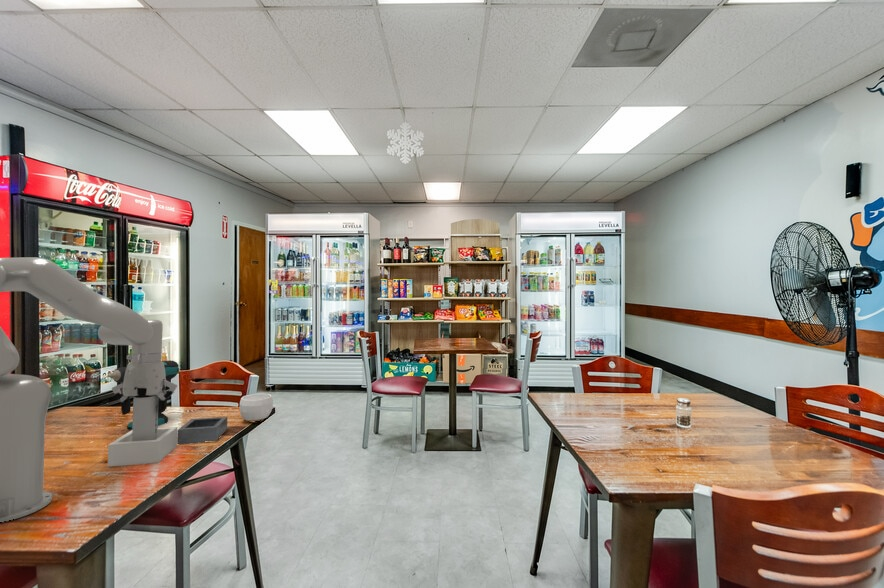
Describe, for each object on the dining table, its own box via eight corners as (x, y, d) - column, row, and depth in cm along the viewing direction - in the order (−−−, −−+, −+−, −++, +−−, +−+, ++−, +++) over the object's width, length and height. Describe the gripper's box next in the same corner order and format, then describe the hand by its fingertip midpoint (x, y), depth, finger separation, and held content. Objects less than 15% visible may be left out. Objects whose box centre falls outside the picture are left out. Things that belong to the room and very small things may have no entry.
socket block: (216, 441, 131) (216, 427, 131) (177, 444, 128) (177, 429, 128) (227, 429, 142) (227, 416, 142) (191, 432, 139) (191, 418, 139)
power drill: (116, 440, 130) (118, 369, 131) (96, 438, 132) (97, 367, 132) (182, 417, 156) (183, 357, 156) (164, 416, 158) (166, 356, 158)
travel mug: (126, 449, 117) (128, 385, 117) (150, 442, 123) (152, 381, 123) (136, 453, 114) (138, 388, 114) (161, 446, 120) (162, 384, 120)
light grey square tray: (158, 462, 114) (158, 441, 114) (107, 466, 111) (108, 444, 111) (177, 446, 126) (177, 426, 127) (131, 449, 123) (132, 429, 123)
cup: (277, 415, 160) (278, 393, 160) (263, 425, 148) (263, 401, 148) (249, 415, 160) (249, 392, 161) (232, 424, 148) (233, 400, 148)
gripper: (106, 360, 113) (104, 417, 112) (172, 359, 117) (170, 414, 117) (121, 357, 120) (118, 411, 120) (182, 356, 125) (180, 408, 124)
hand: (144, 412), depth 118 cm, fingers open, 9 cm apart
